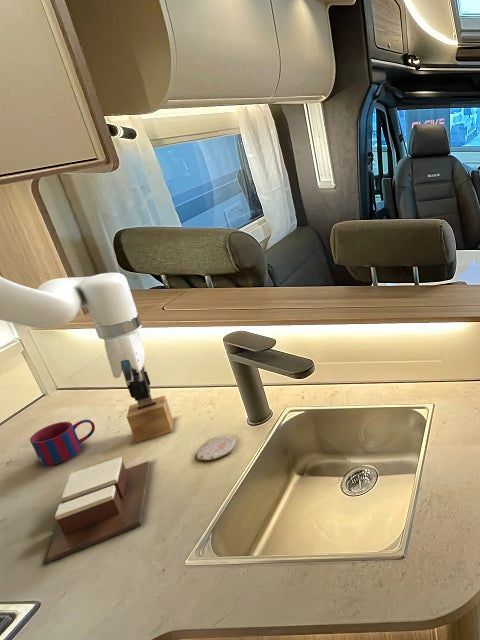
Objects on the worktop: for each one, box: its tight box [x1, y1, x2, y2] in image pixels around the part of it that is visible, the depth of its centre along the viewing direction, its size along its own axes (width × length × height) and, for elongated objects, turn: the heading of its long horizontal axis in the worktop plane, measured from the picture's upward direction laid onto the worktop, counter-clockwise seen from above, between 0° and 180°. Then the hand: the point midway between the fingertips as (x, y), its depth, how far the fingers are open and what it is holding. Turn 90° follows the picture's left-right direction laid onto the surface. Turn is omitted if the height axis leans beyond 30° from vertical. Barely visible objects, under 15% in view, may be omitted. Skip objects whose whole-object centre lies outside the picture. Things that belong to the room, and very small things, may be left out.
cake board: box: [45, 460, 151, 564], centre depth 85 cm, size 13×18×1 cm
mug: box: [29, 419, 96, 467], centre depth 98 cm, size 7×10×7 cm
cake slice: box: [54, 485, 122, 535], centre depth 81 cm, size 8×3×5 cm, turn 125°
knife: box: [133, 368, 154, 409], centre depth 102 cm, size 3×3×17 cm
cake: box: [61, 456, 128, 503], centre depth 87 cm, size 8×7×5 cm
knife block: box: [126, 395, 174, 444], centre depth 104 cm, size 7×5×8 cm
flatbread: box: [196, 435, 237, 461], centre depth 100 cm, size 8×8×1 cm
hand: (141, 390), depth 101 cm, fingers closed on knife, 3 cm apart
